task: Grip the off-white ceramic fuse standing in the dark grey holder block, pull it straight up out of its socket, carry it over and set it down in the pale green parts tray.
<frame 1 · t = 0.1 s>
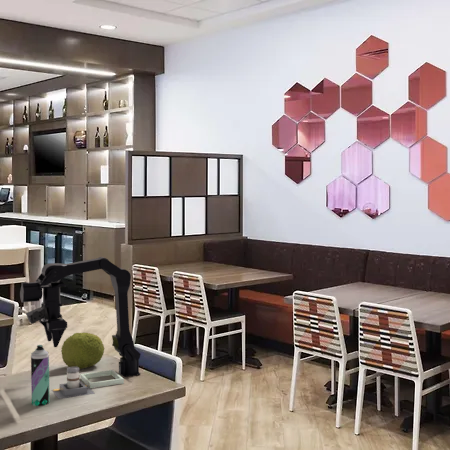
hand: (52, 344, 229), 15 cm above the table, fingers open, 9 cm apart
spray can: (40, 408, 208), on the table
holder: (73, 396, 219), on the table
tray: (101, 385, 230), on the table
fruit: (83, 368, 251), on the table
fuse: (73, 391, 218), point 1 cm above the table, touching holder
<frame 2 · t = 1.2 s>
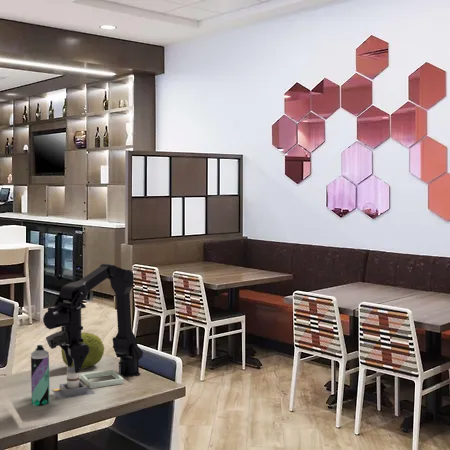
hand: (73, 369, 218), 9 cm above the table, fingers open, 9 cm apart
nothing on the table moved.
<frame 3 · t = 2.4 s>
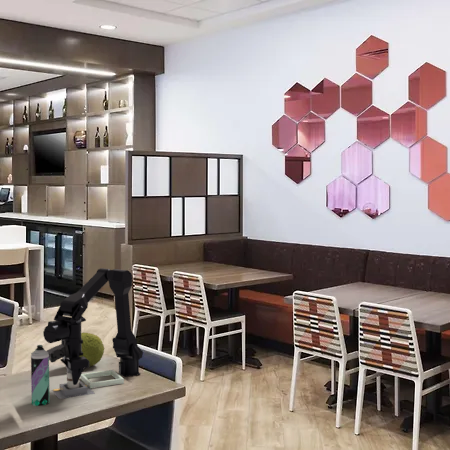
hand: (73, 382, 218), 5 cm above the table, fingers closed on fuse, 4 cm apart
fuse: (73, 391, 218), point 1 cm above the table, touching gripper, holder
everything else where it was.
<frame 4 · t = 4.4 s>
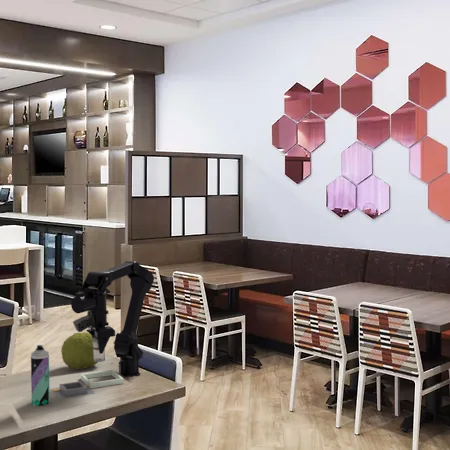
hand: (99, 351, 228), 12 cm above the table, fingers closed on fuse, 4 cm apart
fuse: (99, 360, 229), point 9 cm above the table, touching gripper
everything else where it was.
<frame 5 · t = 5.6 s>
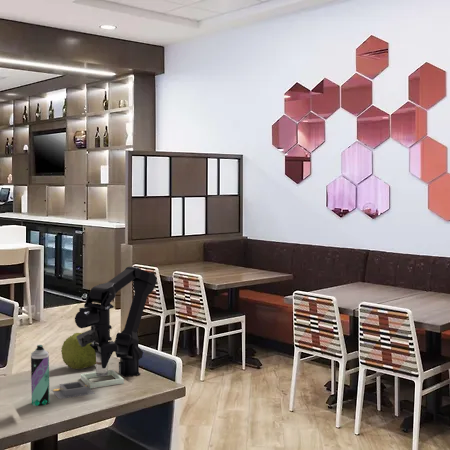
hand: (101, 366, 230), 7 cm above the table, fingers closed on fuse, 4 cm apart
fuse: (102, 374, 230), point 4 cm above the table, touching gripper
everything else where it was.
when the fingers open (5 cm above the table, at t = 6.6 s): fuse drops 2 cm, resting on tray.
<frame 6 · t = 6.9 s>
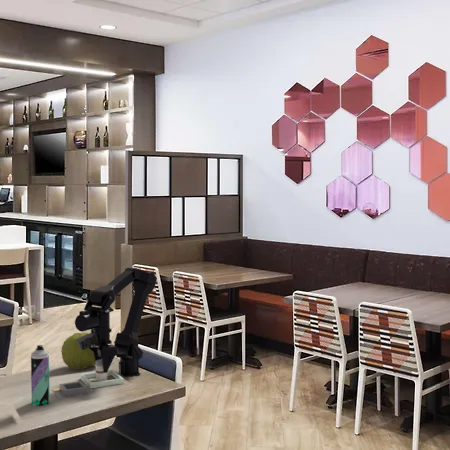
hand: (101, 369, 230), 5 cm above the table, fingers open, 8 cm apart
fuse: (101, 383, 230), point 1 cm above the table, touching tray
everything else where it was.
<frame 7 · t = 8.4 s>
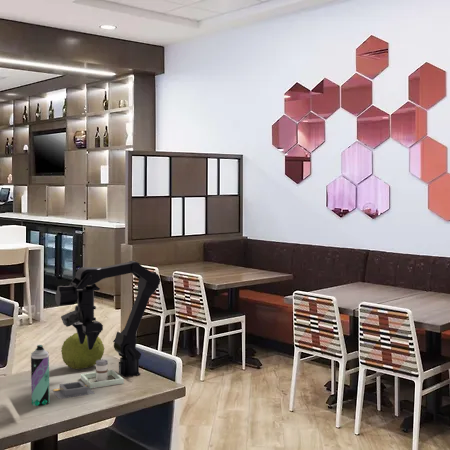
hand: (85, 346, 233), 13 cm above the table, fingers open, 9 cm apart
nothing on the table moved.
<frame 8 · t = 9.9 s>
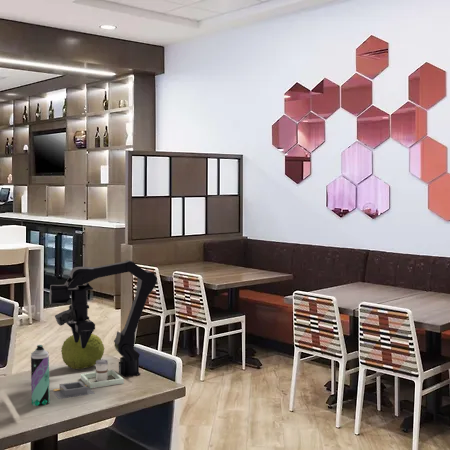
hand: (79, 345, 236), 12 cm above the table, fingers open, 9 cm apart
nothing on the table moved.
at the end: fuse inside the target area on the tray (0.0 cm from its centre), point 0.6 cm above the tray's base; fuse touching tray; the gripper is holding nothing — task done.
